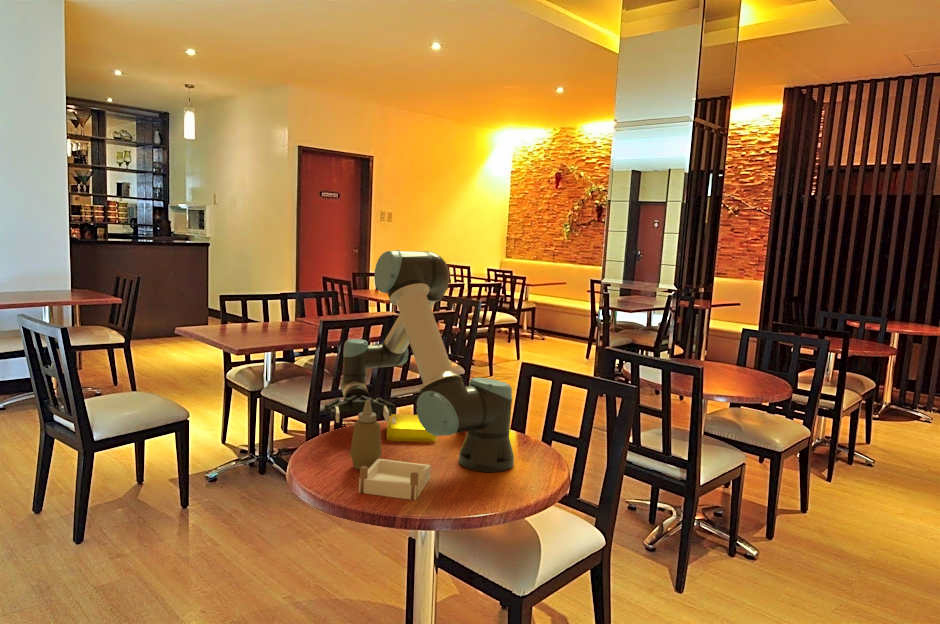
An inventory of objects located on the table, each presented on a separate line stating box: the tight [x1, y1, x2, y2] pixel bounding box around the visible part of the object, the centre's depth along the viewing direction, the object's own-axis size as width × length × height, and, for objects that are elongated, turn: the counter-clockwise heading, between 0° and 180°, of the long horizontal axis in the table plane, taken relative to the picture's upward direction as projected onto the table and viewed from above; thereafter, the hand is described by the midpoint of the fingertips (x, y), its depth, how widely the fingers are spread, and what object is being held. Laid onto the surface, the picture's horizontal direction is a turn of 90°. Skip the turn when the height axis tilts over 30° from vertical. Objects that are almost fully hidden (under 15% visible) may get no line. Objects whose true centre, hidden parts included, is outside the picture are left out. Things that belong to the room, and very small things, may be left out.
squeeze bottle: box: [349, 400, 382, 471], centre depth 168 cm, size 8×8×18 cm
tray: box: [358, 458, 432, 501], centre depth 158 cm, size 14×14×6 cm
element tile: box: [386, 413, 438, 443], centre depth 199 cm, size 15×15×5 cm
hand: (363, 417), depth 178 cm, fingers open, 13 cm apart
